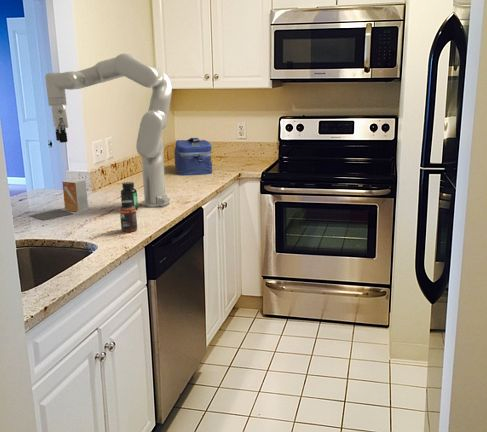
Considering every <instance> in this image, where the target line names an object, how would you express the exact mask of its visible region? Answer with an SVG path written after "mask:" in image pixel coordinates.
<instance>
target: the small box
mask: <svg viewBox="0 0 487 432" xmlns="http://www.w3.org/2000/svg"><path fill="white" fill-rule="evenodd" d="M61 184H62V190H63V201H64V211H68V212H77V213H79V212H83V211H86V210H89V201H88V191H87V181H86V180H85V179H75V178H72V179H66V180H62V183H61Z"/></svg>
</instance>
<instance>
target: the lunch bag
mask: <svg viewBox="0 0 487 432" xmlns="http://www.w3.org/2000/svg"><path fill="white" fill-rule="evenodd" d="M173 155H174V167H175V170H176V171H177V174H178V175H179V176H181V177H182V176H183V177H185V176H186V177H187V176H197V175H199V176H200V175H210V174H213V162H212V144H211V142H209V141H208V140H206V139H200V138H199V137H190V138H188V139H186V140H184V139H181V140H179V139H178V140H175V147H174V154H173Z"/></svg>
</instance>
